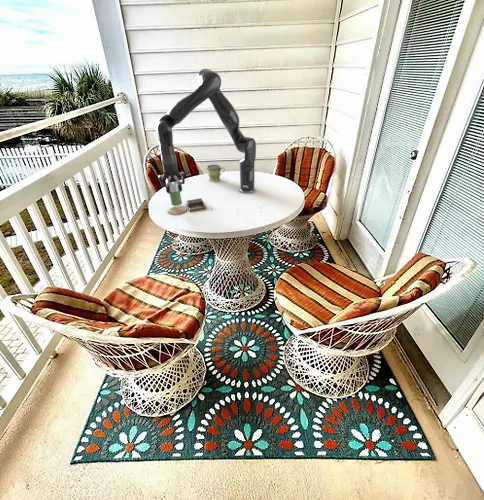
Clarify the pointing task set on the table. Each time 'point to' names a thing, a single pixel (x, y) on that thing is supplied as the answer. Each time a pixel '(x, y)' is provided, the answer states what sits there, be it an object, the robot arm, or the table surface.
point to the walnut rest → (195, 204)
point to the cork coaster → (177, 210)
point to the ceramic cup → (214, 172)
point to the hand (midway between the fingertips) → (174, 192)
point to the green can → (175, 193)
